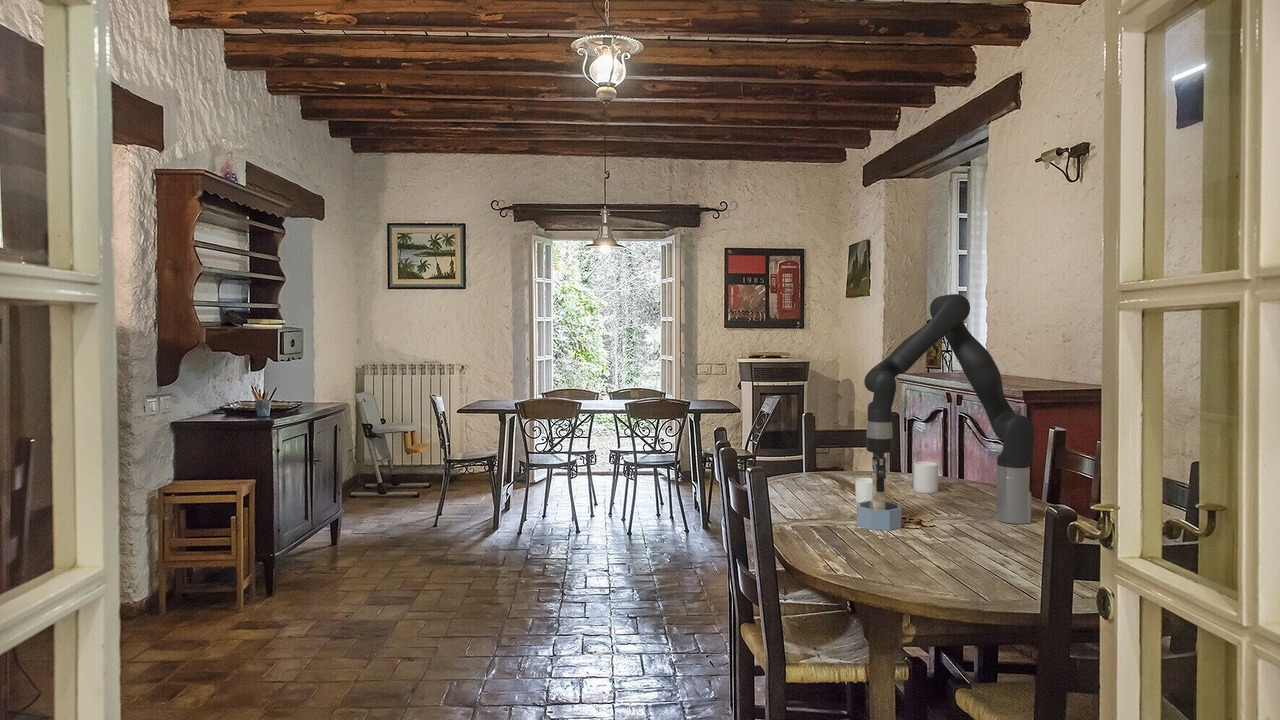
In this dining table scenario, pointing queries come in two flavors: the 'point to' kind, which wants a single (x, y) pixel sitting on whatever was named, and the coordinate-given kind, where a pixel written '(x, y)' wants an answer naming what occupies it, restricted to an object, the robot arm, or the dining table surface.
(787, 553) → the dining table surface
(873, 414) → the robot arm
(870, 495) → the white cup
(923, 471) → the mug
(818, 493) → the dining table surface
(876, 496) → the tan square peg
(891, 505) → the blue octagonal holder
